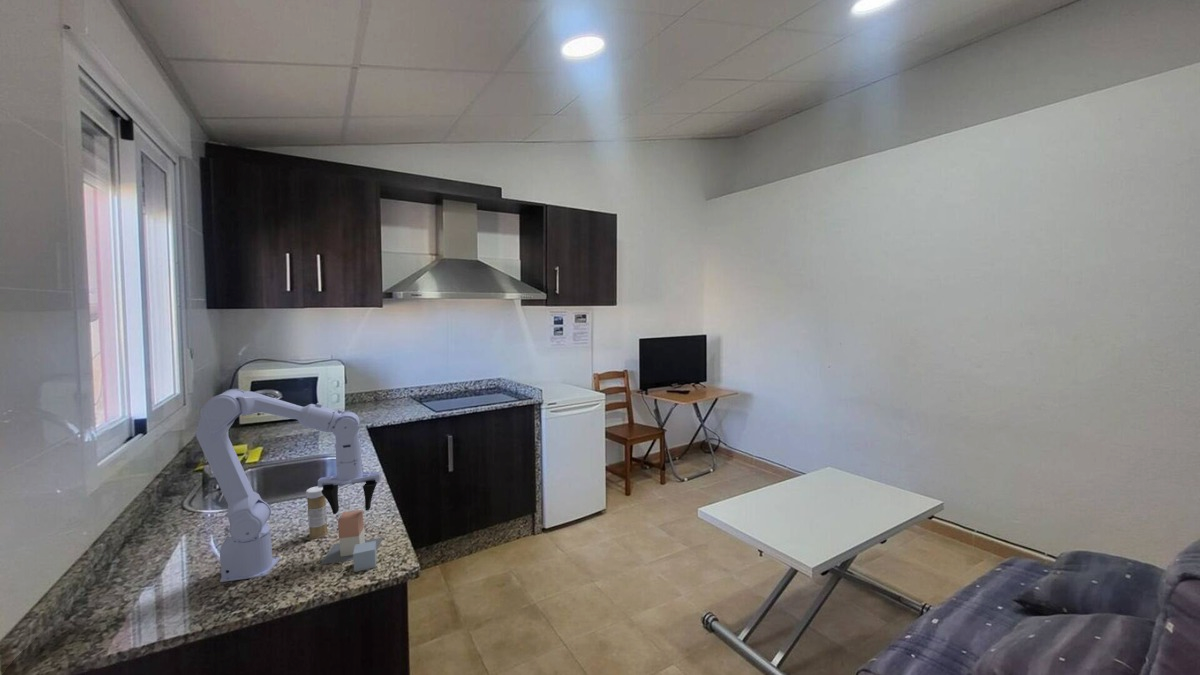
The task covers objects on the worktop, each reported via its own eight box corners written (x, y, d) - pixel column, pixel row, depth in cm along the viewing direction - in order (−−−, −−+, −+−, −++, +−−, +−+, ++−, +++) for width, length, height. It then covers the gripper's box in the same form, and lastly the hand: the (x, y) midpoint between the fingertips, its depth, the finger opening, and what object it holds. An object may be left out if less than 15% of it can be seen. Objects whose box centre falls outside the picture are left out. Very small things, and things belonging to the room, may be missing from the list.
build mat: (320, 565, 113) (320, 564, 113) (334, 545, 123) (334, 544, 123) (373, 558, 116) (373, 557, 116) (382, 539, 126) (382, 537, 126)
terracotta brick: (339, 538, 116) (337, 520, 116) (344, 529, 121) (343, 512, 120) (358, 536, 117) (357, 517, 117) (363, 527, 122) (362, 509, 121)
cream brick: (340, 556, 117) (339, 538, 116) (346, 547, 121) (345, 529, 121) (360, 553, 118) (359, 535, 117) (365, 544, 122) (364, 527, 122)
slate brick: (354, 573, 110) (353, 553, 110) (356, 563, 114) (355, 544, 114) (375, 568, 112) (374, 549, 111) (376, 559, 116) (375, 540, 116)
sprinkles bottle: (314, 532, 131) (311, 485, 130) (331, 531, 131) (328, 484, 130) (305, 540, 126) (302, 492, 125) (323, 539, 127) (320, 491, 126)
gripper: (311, 467, 113) (315, 521, 114) (375, 461, 117) (378, 514, 118) (322, 458, 120) (325, 508, 121) (382, 453, 123) (384, 502, 124)
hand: (352, 510), depth 120 cm, fingers open, 7 cm apart
